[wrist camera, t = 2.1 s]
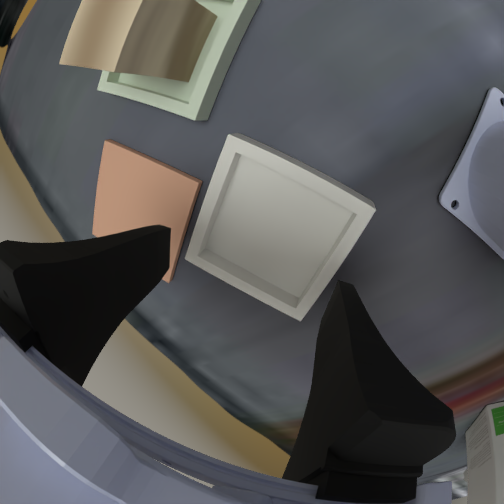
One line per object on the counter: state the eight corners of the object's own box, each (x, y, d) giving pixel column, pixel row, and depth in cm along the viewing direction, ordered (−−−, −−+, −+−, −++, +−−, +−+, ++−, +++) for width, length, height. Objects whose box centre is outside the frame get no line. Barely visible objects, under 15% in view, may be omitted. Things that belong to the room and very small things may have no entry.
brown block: (217, 16, 11) (155, -24, 6) (188, 83, 13) (113, 74, 8) (158, 9, 11) (89, -15, 6) (133, 70, 13) (58, 65, 8)
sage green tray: (261, 0, 10) (253, -11, 9) (207, 120, 14) (194, 120, 13) (152, -11, 11) (139, -17, 9) (112, 89, 15) (97, 89, 13)
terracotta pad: (202, 181, 16) (198, 183, 15) (172, 279, 20) (168, 283, 19) (109, 139, 16) (105, 140, 16) (96, 231, 20) (92, 233, 20)
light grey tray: (372, 201, 13) (376, 209, 12) (304, 306, 18) (300, 321, 16) (238, 133, 14) (228, 133, 13) (195, 248, 18) (184, 259, 17)
